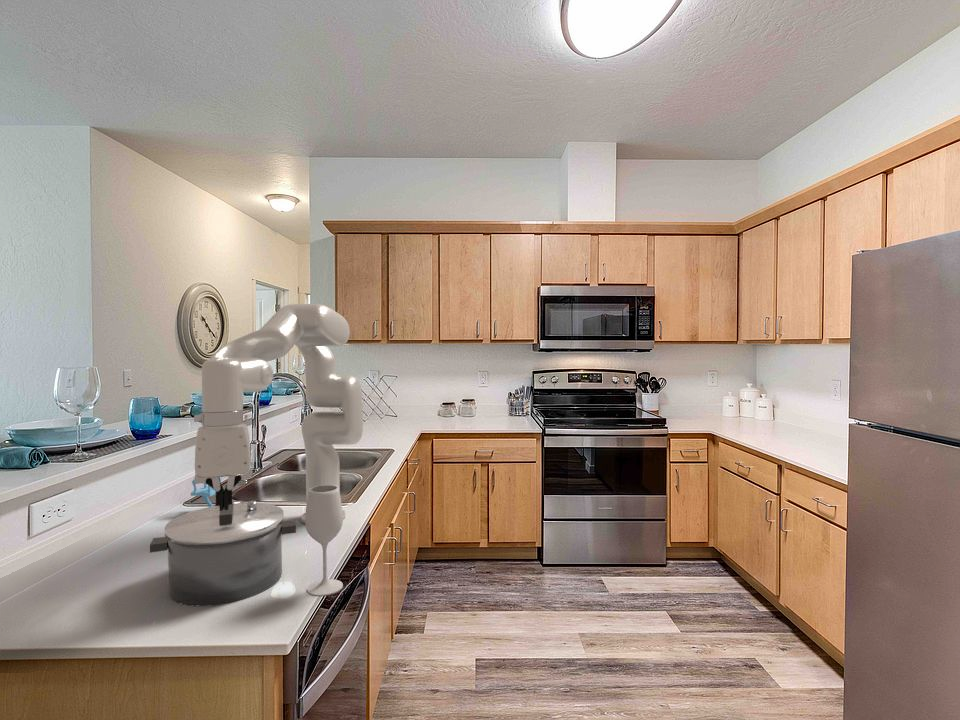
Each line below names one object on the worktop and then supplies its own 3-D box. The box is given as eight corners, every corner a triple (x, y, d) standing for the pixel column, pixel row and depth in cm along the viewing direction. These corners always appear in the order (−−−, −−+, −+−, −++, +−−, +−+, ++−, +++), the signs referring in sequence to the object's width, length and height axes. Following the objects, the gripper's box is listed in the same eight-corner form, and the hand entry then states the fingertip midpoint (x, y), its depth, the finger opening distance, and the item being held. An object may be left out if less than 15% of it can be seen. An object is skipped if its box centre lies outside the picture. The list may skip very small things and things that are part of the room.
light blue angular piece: (227, 509, 165) (227, 471, 164) (210, 518, 156) (209, 478, 156) (205, 508, 166) (204, 471, 165) (187, 517, 158) (186, 477, 157)
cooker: (161, 572, 118) (160, 519, 118) (292, 552, 129) (292, 504, 129) (142, 618, 98) (140, 554, 98) (299, 590, 109) (298, 533, 109)
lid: (174, 514, 121) (174, 499, 121) (280, 502, 130) (280, 488, 130) (155, 553, 98) (155, 534, 98) (286, 535, 107) (285, 518, 107)
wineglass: (305, 598, 105) (303, 494, 105) (307, 582, 113) (305, 485, 112) (344, 593, 107) (342, 491, 107) (343, 578, 115) (342, 482, 114)
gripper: (178, 424, 101) (180, 518, 101) (262, 419, 107) (263, 509, 107) (183, 419, 108) (185, 508, 108) (262, 415, 114) (263, 499, 114)
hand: (224, 508), depth 108 cm, fingers closed
